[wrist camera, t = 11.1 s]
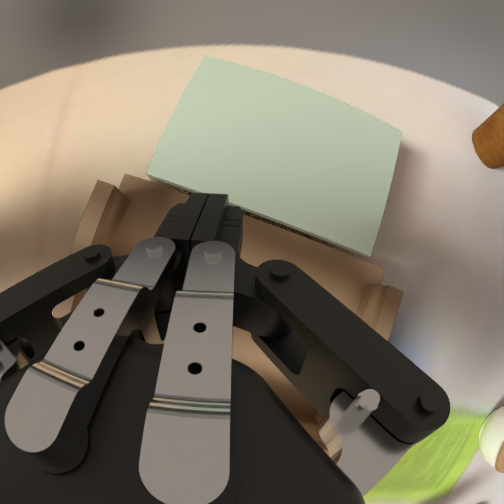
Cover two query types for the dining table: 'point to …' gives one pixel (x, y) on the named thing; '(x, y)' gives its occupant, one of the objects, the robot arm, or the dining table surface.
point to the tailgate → (280, 153)
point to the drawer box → (252, 252)
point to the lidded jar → (493, 440)
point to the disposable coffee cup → (491, 139)
